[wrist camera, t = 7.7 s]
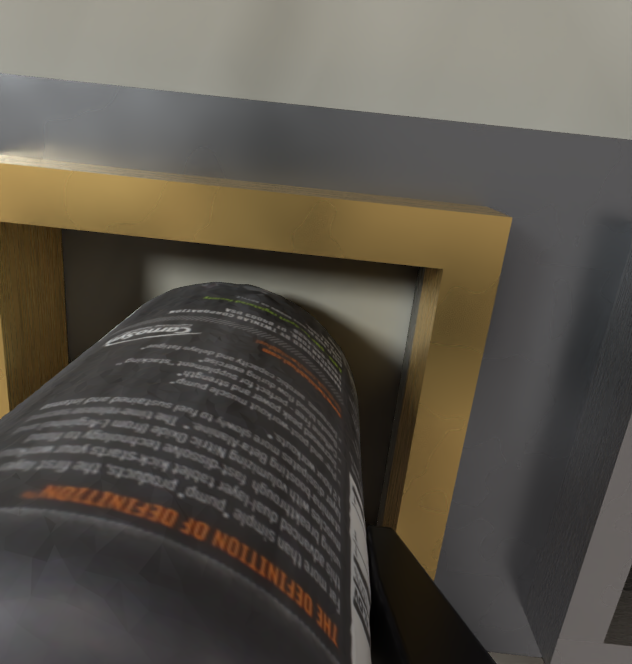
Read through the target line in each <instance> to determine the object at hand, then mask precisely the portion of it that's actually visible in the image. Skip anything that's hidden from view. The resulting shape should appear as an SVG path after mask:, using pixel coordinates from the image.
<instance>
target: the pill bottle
mask: <svg viewBox="0 0 632 664" xmlns="http://www.w3.org/2000/svg"><path fill="white" fill-rule="evenodd" d="M370 608H371V588H370V578H369V565H368V554H367V544H366V530H365V518H364V499H363V484H362V474H361V451H360V428H359V407H358V397H357V393H356V388H355V384H354V379H353V375H352V372H351V370H350V367H349V365H348V363H347V361H346V358H345V356H344V354H343V352H342V350H341V348H340V347H339V346H338V345H337V343H336V342H335V341H334V340H333V338H332V337H331V336H330V335H329V333H328V332H327V331H326V330H325V329H324V328H323V326H322V325H321V324H320V323H319V322H318V321H317V320H316V319H315V318H314V317H313V316H312V315H310V314H309V313H307V312H306V311H305V310H303V309H302V308H300V307H299V306H297V305H296V304H294V303H292V302H290V301H289V300H287V299H285V298H284V297H282V296H280V295H277V294H275V293H272V292H270V291H267V290H264V289H262V288H259V287H256V286H253V285H249V284H232V283H223V282H210V283H203V284H195V285H190V286H184V287H180V288H176V289H173V290H170V291H168V292H166V293H164V294H161V295H159V296H157V297H155V298H153V299H151V300H150V301H148V302H146V303H144V304H143V305H142V306H141V307H139V308H138V309H137V310H136V311H135V312H133V313H132V314H131V315H130V316H129V317H127V318H126V319H125V320H124V321H122V322H121V323H120V324H119V325H117V326H116V327H115V328H114V329H112V330H111V331H110V332H109V333H108V334H106V335H105V336H104V337H103V338H102V339H100V340H99V341H98V342H96V343H95V344H94V345H93V346H92V347H90V348H89V349H87V350H86V351H85V352H84V353H82V354H81V355H80V356H79V357H78V358H76V359H75V360H74V361H73V362H71V363H70V364H69V365H67V366H66V367H65V368H64V369H63V370H61V371H60V372H59V373H58V374H56V375H55V376H54V377H53V378H52V379H50V380H49V381H48V382H46V383H45V384H44V385H43V386H42V387H41V388H39V389H38V390H37V391H36V392H34V393H33V394H32V395H31V396H29V397H28V398H27V399H25V400H24V401H23V402H22V403H20V404H18V405H17V406H16V407H15V408H14V409H13V410H12V411H10V412H9V413H7V414H5V415H4V416H3V417H2V418H1V419H0V664H372V663H371V637H370V626H369V617H370Z"/></svg>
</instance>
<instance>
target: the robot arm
mask: <svg viewBox="0 0 632 664" xmlns="http://www.w3.org/2000/svg"><path fill="white" fill-rule="evenodd" d="M366 544H367V554H368V565H369V578H370V588H371V608H370V617H369V626H370V637H371V663H372V664H496V663H495V661H494V660H493V659H492V657H491V656H490V655H489V654H488V652H487V651H486V650H485V648H484V647H483V646H482V644H481V643H480V642H479V640H478V639H477V638H476V636H475V635H474V634H473V633H472V631H471V630H470V629H469V627H468V626H467V625H466V623H465V622H464V621H463V619H462V618H461V617H460V615H459V614H458V613H457V612H456V610H455V609H454V608H453V606H452V605H451V604H450V602H449V601H448V600H447V598H446V597H445V596H444V594H443V593H442V592H441V591H440V589H439V588H438V587H437V585H436V584H435V583H434V581H433V580H432V579H431V577H430V576H429V575H428V573H427V572H426V571H425V570H424V568H423V567H422V566H421V564H420V563H419V562H418V560H417V559H416V558H415V556H414V555H413V554H412V552H411V551H410V550H409V549H408V547H407V546H406V545H405V543H404V542H403V541H402V539H401V538H400V537H399V535H398V534H397V533H396V531H395V530H394V529H392V528H390V527H382V526H373V525H370V526H368V527H367V528H366Z"/></svg>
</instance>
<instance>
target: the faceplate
mask: <svg viewBox="0 0 632 664" xmlns="http://www.w3.org/2000/svg"><path fill="white" fill-rule="evenodd" d="M61 228H65V229H74V230H84V231H93V232H102V233H112V234H121V235H130V236H140V237H149V238H158V239H168V240H177V241H186V242H196V243H205V244H214V245H224V246H233V247H242V248H252V249H261V250H270V251H280V252H289V253H298V254H308V255H317V256H326V257H336V258H345V259H354V260H364V261H373V262H382V263H392V264H401V265H410V266H419V270H418V276H417V282H416V288H415V294H414V300H413V306H412V312H411V318H410V324H409V330H408V336H407V342H406V348H405V354H404V360H403V366H402V372H401V378H400V385H399V391H398V397H397V403H396V409H395V415H394V421H393V427H392V433H391V439H390V445H389V451H388V457H387V463H386V469H385V475H384V481H383V487H382V493H381V499H380V506H379V512H378V518H377V524H376V526H382V527H390V528H392V529H394V530H395V531H396V533H397V534H398V535H399V537H400V538H401V539H402V541H403V542H404V543H405V545H406V546H407V547H408V549H409V550H410V551H411V552H412V554H413V555H414V556H415V558H416V559H417V560H418V562H419V563H420V564H421V566H422V567H423V568H424V570H425V571H426V572H427V573H428V575H429V576H430V577H431V579H432V580H433V581H434V583H435V584H436V585H437V587H438V588H439V589H440V591H441V592H442V593H443V594H444V596H445V597H446V598H447V600H448V601H449V602H450V604H451V605H452V606H453V608H454V609H455V610H456V612H457V613H458V614H459V615H460V617H461V618H462V619H463V621H464V622H465V623H466V625H467V626H468V627H469V629H470V630H471V631H472V633H473V634H474V635H475V636H476V638H477V639H478V640H479V642H480V643H481V644H482V646H483V647H484V648H485V650H486V651H487V652H496V653H505V654H514V655H523V656H532V657H541V658H543V661H544V663H545V664H632V570H630V568H631V565H632V140H627V139H617V138H608V137H599V136H589V135H580V134H570V133H561V132H551V131H542V130H532V129H523V128H513V127H504V126H494V125H485V124H475V123H466V122H456V121H447V120H438V119H428V118H419V117H409V116H400V115H390V114H381V113H371V112H362V111H352V110H343V109H333V108H324V107H314V106H305V105H296V104H286V103H277V102H267V101H258V100H248V99H239V98H229V97H220V96H210V95H201V94H191V93H182V92H172V91H163V90H153V89H144V88H135V87H125V86H116V85H106V84H97V83H87V82H78V81H68V80H59V79H49V78H40V77H30V76H21V75H11V74H2V73H0V419H1V418H2V417H3V416H4V415H5V414H7V413H9V412H10V411H12V410H13V409H14V408H15V407H16V406H17V405H18V404H20V403H22V402H23V401H24V400H25V399H27V398H28V397H29V396H31V395H32V394H33V393H34V392H36V391H37V390H38V389H39V388H41V387H42V386H43V385H44V384H45V383H46V382H48V381H49V380H50V379H52V378H53V377H54V376H55V375H56V374H58V373H59V372H60V371H61V370H63V369H64V368H65V367H66V366H67V365H69V361H68V343H67V325H66V306H65V288H64V269H63V251H62V232H61Z"/></svg>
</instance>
